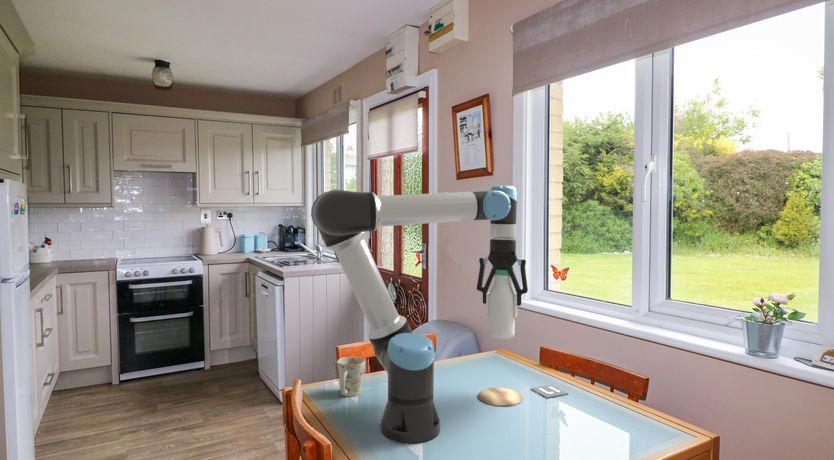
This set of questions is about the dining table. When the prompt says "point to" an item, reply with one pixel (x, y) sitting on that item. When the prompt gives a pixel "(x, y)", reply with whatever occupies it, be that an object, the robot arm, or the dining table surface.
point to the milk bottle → (501, 307)
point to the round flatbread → (500, 397)
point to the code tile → (549, 391)
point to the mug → (351, 375)
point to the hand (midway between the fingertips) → (501, 315)
